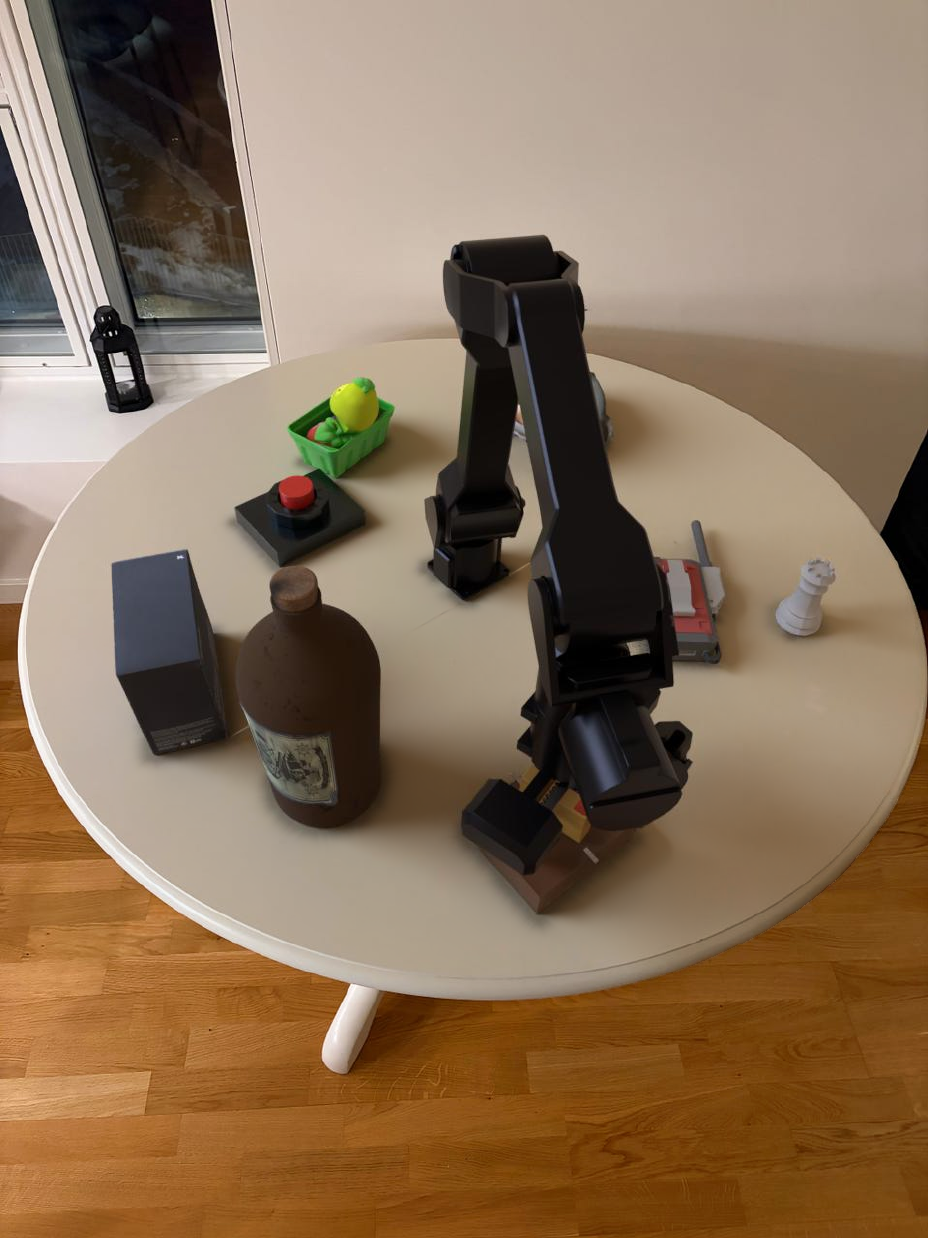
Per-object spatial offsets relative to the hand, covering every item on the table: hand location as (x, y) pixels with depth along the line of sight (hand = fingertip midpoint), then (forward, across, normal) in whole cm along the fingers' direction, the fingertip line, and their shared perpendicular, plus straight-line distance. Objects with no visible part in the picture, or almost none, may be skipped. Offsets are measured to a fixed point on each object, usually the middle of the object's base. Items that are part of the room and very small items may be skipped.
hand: (554, 811), depth 72 cm
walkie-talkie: (+4, +31, +4) cm, 32 cm away
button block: (+4, +16, +42) cm, 45 cm away
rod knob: (+1, 0, 0) cm, 1 cm away
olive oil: (+4, -7, +18) cm, 20 cm away
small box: (+4, -8, +35) cm, 36 cm away
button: (0, +16, +42) cm, 45 cm away
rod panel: (+4, 0, 0) cm, 4 cm away
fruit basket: (+4, +28, +46) cm, 54 cm away
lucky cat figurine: (+4, +46, +29) cm, 55 cm away
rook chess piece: (+4, +35, -7) cm, 36 cm away
